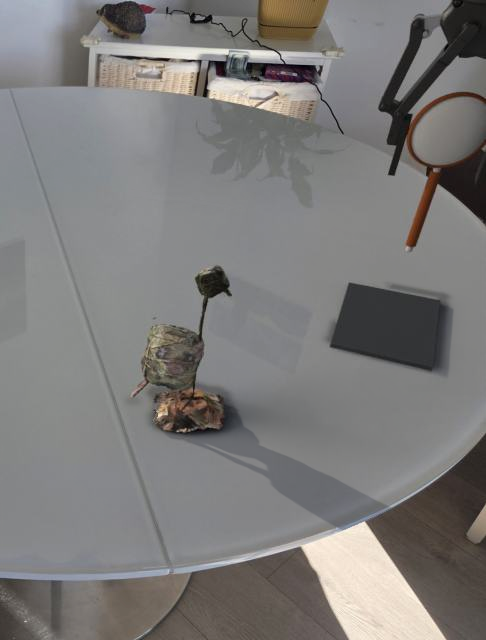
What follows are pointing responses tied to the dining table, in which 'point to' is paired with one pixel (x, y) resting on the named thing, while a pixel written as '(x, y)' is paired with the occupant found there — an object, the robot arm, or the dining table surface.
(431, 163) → the magnifying glass
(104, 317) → the dining table surface
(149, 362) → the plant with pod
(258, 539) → the dining table surface
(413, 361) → the mat
